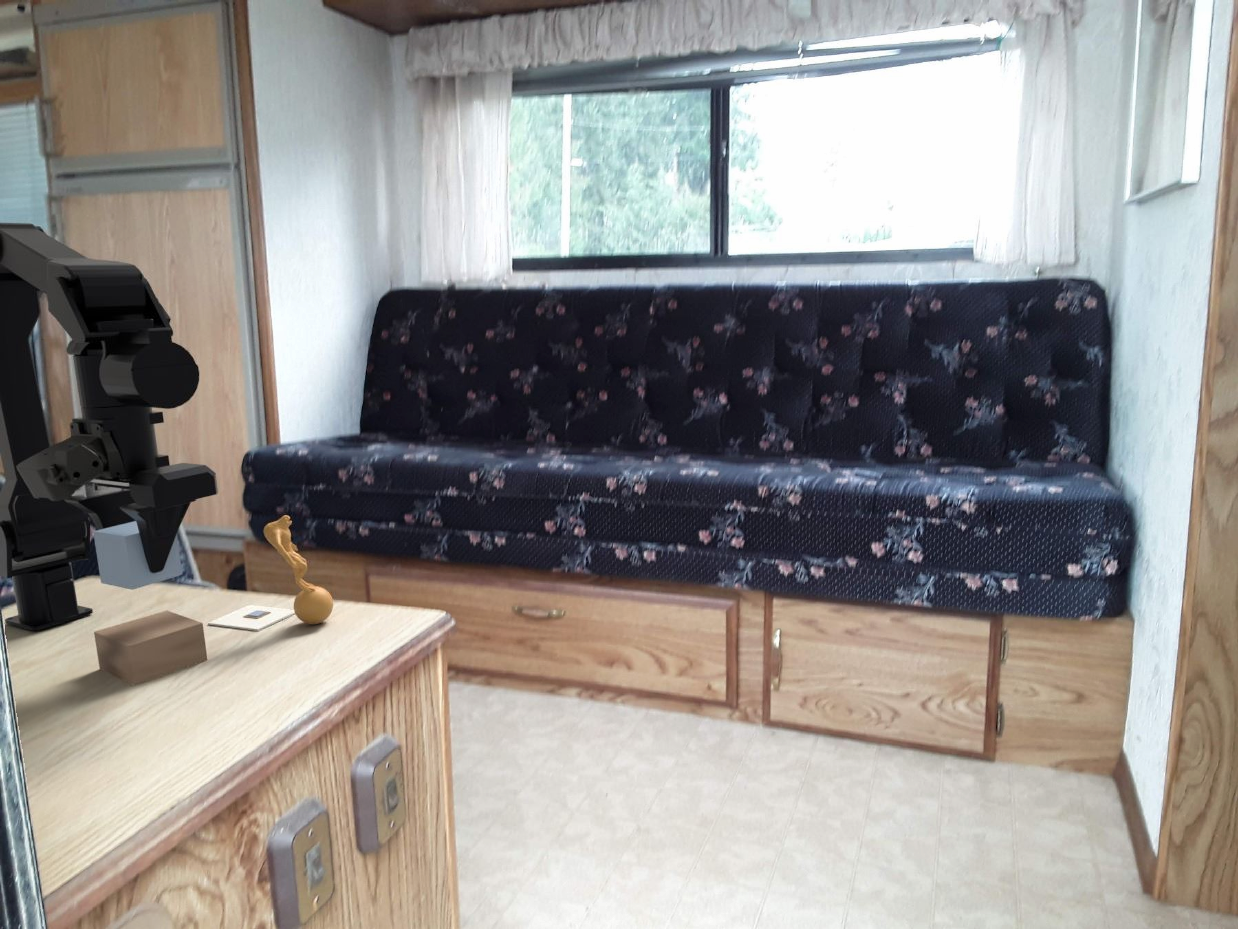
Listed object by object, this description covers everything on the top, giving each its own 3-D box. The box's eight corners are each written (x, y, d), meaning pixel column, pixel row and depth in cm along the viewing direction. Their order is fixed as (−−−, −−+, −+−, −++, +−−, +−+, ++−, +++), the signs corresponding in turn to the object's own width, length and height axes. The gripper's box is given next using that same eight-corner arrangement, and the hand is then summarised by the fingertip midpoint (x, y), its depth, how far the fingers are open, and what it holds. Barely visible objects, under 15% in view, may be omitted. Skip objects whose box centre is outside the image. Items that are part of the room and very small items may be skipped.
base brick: (100, 671, 90) (93, 631, 89) (172, 648, 95) (166, 610, 94) (134, 688, 85) (128, 646, 85) (207, 662, 91) (202, 623, 90)
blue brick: (101, 583, 88) (93, 531, 87) (150, 568, 92) (143, 519, 91) (132, 589, 85) (124, 536, 84) (182, 574, 90) (175, 523, 89)
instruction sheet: (208, 624, 101) (207, 621, 101) (249, 606, 106) (249, 603, 106) (258, 631, 98) (257, 627, 98) (298, 612, 103) (298, 608, 103)
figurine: (337, 632, 96) (325, 519, 94) (275, 642, 94) (261, 526, 92) (332, 608, 104) (321, 503, 102) (275, 617, 102) (262, 509, 100)
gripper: (-32, 412, 84) (-3, 581, 87) (86, 420, 74) (114, 608, 77) (91, 397, 93) (114, 550, 96) (210, 402, 83) (231, 571, 86)
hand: (139, 568), depth 88 cm, fingers closed on blue brick, 5 cm apart
